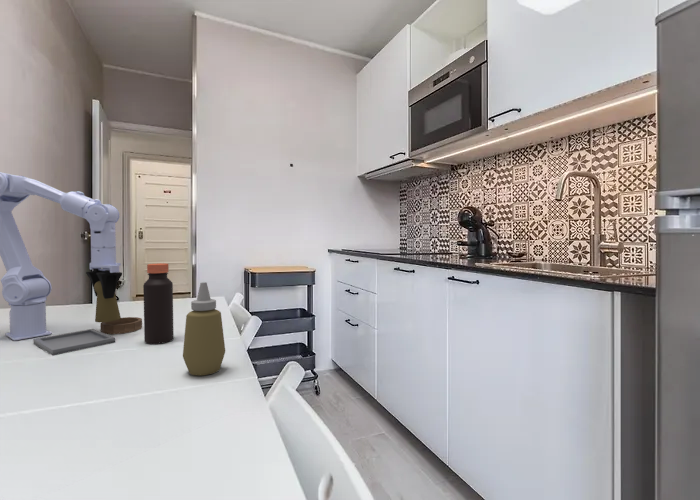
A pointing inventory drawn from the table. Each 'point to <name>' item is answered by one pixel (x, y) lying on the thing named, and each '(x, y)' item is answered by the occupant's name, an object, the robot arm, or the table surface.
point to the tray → (73, 341)
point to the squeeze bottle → (203, 335)
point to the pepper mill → (105, 306)
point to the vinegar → (158, 305)
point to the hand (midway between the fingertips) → (104, 297)
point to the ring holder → (121, 325)
